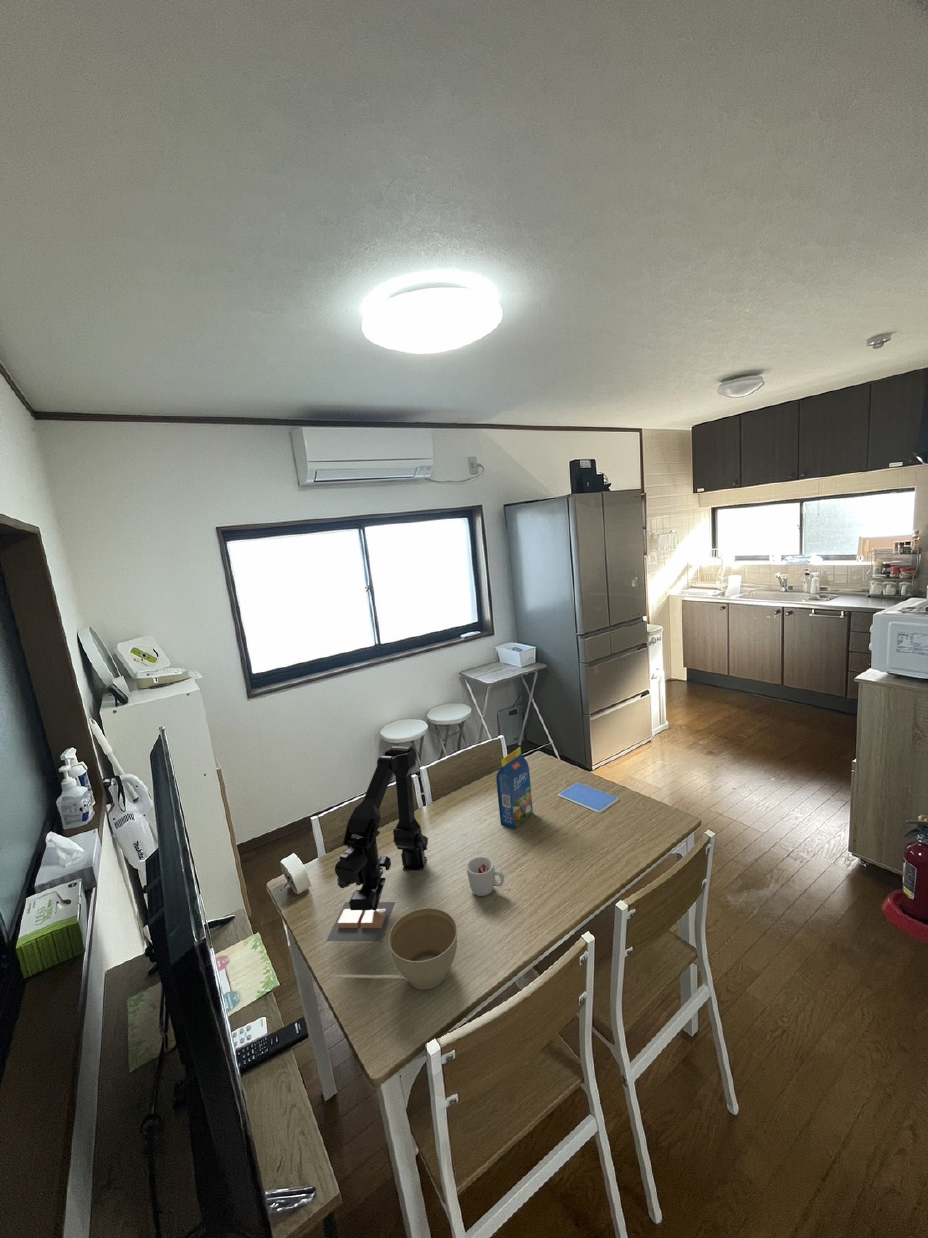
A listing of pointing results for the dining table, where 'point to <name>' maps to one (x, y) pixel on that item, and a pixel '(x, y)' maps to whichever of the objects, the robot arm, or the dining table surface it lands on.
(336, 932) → the mat
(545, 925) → the dining table surface
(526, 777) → the blue food package
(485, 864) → the cup
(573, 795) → the tablet computer
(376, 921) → the tile
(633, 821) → the dining table surface
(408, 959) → the planter bowl
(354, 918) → the tile
